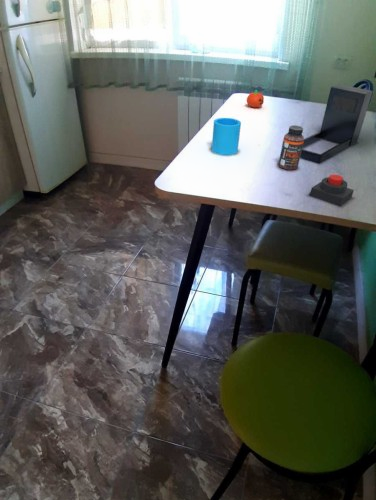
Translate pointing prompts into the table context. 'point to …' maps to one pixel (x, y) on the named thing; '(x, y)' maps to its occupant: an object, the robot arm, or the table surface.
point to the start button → (335, 180)
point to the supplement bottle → (291, 148)
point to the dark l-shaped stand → (340, 121)
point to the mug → (226, 136)
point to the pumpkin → (255, 99)
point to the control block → (332, 192)
